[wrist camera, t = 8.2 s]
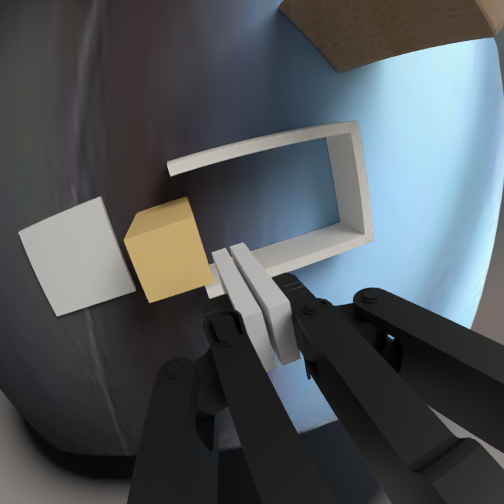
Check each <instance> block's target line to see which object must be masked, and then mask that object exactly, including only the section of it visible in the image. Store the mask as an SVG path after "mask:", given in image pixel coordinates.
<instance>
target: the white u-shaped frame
mask: <svg viewBox="0 0 504 504" xmlns="http://www.w3.org/2000/svg"><path fill="white" fill-rule="evenodd" d="M323 137H326V142H327V147H328V152H329V158H330V163H331V169H332V174H333V180H334V186H335V192H336V199H337V205H338V212H339V219H340V222H339V223H336V224H333V225H330V226H327V227H324V228H321V229H318V230H315V231H312V232H309V233H305V234H302V235H299V236H296V237H293V238H290V239H287V240H284V241H281V242H278V243H275V244H272V245H268V246H265V247H262V248H259V249H256V250H253V251H251V253H252V254H253V255H254V256H255V258H256V259H257V260H258V262H259V263H260V264H261V265H262V267H263V268H264V269H265V271H266V272H267V273H268V274H269V276H270V277H274V276H277V275H280V274H282V273H285V272H290V271H293V270H296V269H298V268H301V267H304V266H307V265H310V264H312V263H315V262H318V261H321V260H324V259H326V258H329V257H332V256H335V255H337V254H340V253H343V252H346V251H348V250H351V249H354V248H356V247H359V246H362V245H364V244H367V243H370V242H372V241H374V238H373V226H372V216H371V207H370V198H369V190H368V182H367V175H366V168H365V161H364V155H363V149H362V143H361V137H360V132H359V126H358V121H345V122H333V123H326V124H320V125H315V126H309V127H304V128H298V129H293V130H288V131H283V132H279V133H274V134H269V135H265V136H260V137H256V138H252V139H248V140H243V141H239V142H235V143H231V144H227V145H224V146H220V147H216V148H212V149H209V150H205V151H201V152H198V153H194V154H191V155H188V156H184V157H181V158H178V159H174V160H171V161H168V162H167V167H168V170H169V174H170V176H173V175H176V174H179V173H183V172H186V171H189V170H193V169H196V168H199V167H203V166H206V165H210V164H213V163H217V162H220V161H224V160H228V159H231V158H235V157H239V156H243V155H247V154H251V153H255V152H259V151H263V150H267V149H271V148H276V147H280V146H285V145H289V144H294V143H298V142H303V141H308V140H313V139H318V138H323ZM231 259H232V260H233V257H231ZM233 262H234V260H233ZM209 267H210V271H211V274H212V277H213V280H214V283H211V284H208V285H205V287H206V290H207V293H208V296H209V299H210V298H213V297H216V296H219V295H222V294H224V291H223V288H222V284H221V281H220V278H219V275H218V272H217V268H216V265H215V263H213V264H210V265H209Z"/></svg>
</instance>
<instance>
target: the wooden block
mask: <svg viewBox="0 0 504 504" xmlns="http://www.w3.org/2000/svg"><path fill="white" fill-rule="evenodd" d="M279 8H280V10H281V11H282V12H283V13H284V14H285V15H286V16H287V17H288V18H289V19H290V20H291V21H292V22H293V23H294V24H295V25H296V26H297V27H298V28H299V29H300V30H301V31H302V32H303V33H304V34H305V35H306V36H307V38H308V39H309V40H310V41H311V42H312V43H313V44H314V45H315V46H316V47H317V49H318V50H319V51H320V52H321V53H322V54H323V55H324V57H325V58H326V59H327V60H328V61H329V63H330V64H331V65H332V66H333V67H334V69H335V70H336V71H337V72H339V73H341V72H345V71H348V70H351V69H354V68H357V67H360V66H363V65H366V64H370V63H373V62H376V61H380V60H383V59H387V58H390V57H394V56H398V55H402V54H406V53H410V52H414V51H418V50H422V49H427V48H431V47H436V46H441V45H446V44H451V43H457V42H463V41H469V40H476V39H483V38H491V37H494V36H495V35H497V33H498V32H499V31H500V29H501V28H502V27H503V25H504V0H283V1H282V3H281V4H280V5H279Z"/></svg>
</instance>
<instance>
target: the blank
mask: <svg viewBox="0 0 504 504" xmlns="http://www.w3.org/2000/svg"><path fill="white" fill-rule="evenodd" d="M124 242H125V245H126V248H127V250H128V253H129V255H130V258H131V261H132V263H133V266H134V268H135V270H136V273H137V275H138V278H139V280H140V283H141V285H142V287H143V290H144V292H145V294H146V297H147V299H148V301H149V303H152V302H155V301H158V300H161V299H164V298H167V297H170V296H174V295H177V294H180V293H183V292H186V291H189V290H192V289H195V288H198V287H201V286H204V285H208V284H211V283H214V280H213V277H212V274H211V271H210V267H209V264H208V261H207V258H206V255H205V252H204V249H203V245H202V242H201V239H200V236H199V233H198V229H197V226H196V223H195V219H194V216H193V213H192V210H191V207H190V204H189V201H188V198H187V196H186V197H183V198H180V199H177V200H174V201H170V202H167V203H164V204H161V205H158V206H155V207H152V208H149V209H146V210H143V211H141V212H138V213H137V214H136V216H135V218H134V220H133V222H132V224H131V226H130V228H129V230H128V232H127V234H126V236H125V238H124Z"/></svg>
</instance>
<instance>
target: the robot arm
mask: <svg viewBox="0 0 504 504" xmlns="http://www.w3.org/2000/svg"><path fill="white" fill-rule="evenodd" d="M230 250H231V253H232V257H233V260H234V262H233V260H232V259H231V257H230V255H229V253H228V252H227V250H226V248H224V249H221V250H218V251H215V252H212V256H213V259H214V262H215V265H216V268H217V272H218V275H219V278H220V281H221V284H222V288H223V291H224V294H223V295H220V296H217V297H214V298H211V299H208V300H206V301H205V303H204V305H203V312H204V316H205V321H204V322H203V329H204V331H205V334H206V336H207V339H208V341H209V344H210V348H209V349H208V351H207V352H206V353H205V354H204V355H203V356H201V357H200V358H199V359H197V360H195V361H192V360H191V359H188V358H185V357H184V358H175V359H172V360H170V361H168V362H166V363H165V364H164V365H163V366H162V367H161V368H160V369H159V371H158V373H157V377H156V381H155V384H154V388H153V392H152V396H151V400H150V403H149V407H148V411H147V415H146V419H145V423H144V428H143V432H142V436H141V440H140V445H139V449H138V453H137V458H136V462H135V467H134V472H133V476H132V481H131V486H130V491H129V496H128V501H127V504H217V470H218V439H219V412H220V411H221V410H223V409H225V408H226V407H228V406H229V410H230V413H231V416H232V419H233V422H234V425H235V428H236V431H237V434H238V437H239V440H240V443H241V446H242V449H243V451H244V454H245V457H246V460H247V463H248V465H249V468H250V471H251V473H252V476H253V479H254V482H255V484H256V487H257V490H258V492H259V495H260V498H261V500H262V503H263V504H336V502H335V500H334V499H333V497H332V495H331V493H330V492H329V490H328V488H327V486H326V484H325V483H324V481H323V479H322V477H321V475H320V474H319V472H318V470H317V468H316V466H315V465H314V463H313V461H312V459H311V457H310V455H309V453H308V452H307V450H306V448H305V446H304V444H303V442H302V440H301V439H300V437H299V435H298V433H297V431H296V429H295V427H294V425H293V423H292V421H291V420H290V418H289V416H288V414H287V412H286V410H285V408H284V406H283V404H282V402H281V400H280V398H279V396H278V394H277V392H276V390H275V388H274V386H273V384H272V382H271V380H270V378H269V376H268V374H267V371H270V370H272V369H275V368H277V367H276V363H275V359H274V356H273V352H272V348H273V350H274V351H275V353H276V355H277V357H278V359H279V361H280V362H281V364H282V366H283V365H286V364H288V363H291V362H293V361H296V360H298V359H301V358H300V353H299V350H300V352H301V353H302V355H303V356H304V361H305V367H306V373H307V377H308V380H309V379H311V377H310V374H311V376H312V378H313V379H314V381H315V382H316V384H317V386H318V387H319V389H320V391H321V392H322V394H323V395H324V397H325V399H326V400H327V402H328V403H329V405H330V407H331V408H332V410H333V411H334V413H335V415H336V416H337V418H338V419H339V421H340V423H341V424H342V426H343V427H344V429H345V431H346V432H347V434H348V435H349V437H350V438H351V440H352V442H353V443H354V445H355V446H356V448H357V450H358V451H359V453H360V454H361V456H362V457H363V459H364V461H365V462H366V464H367V465H368V467H369V468H370V470H371V472H372V473H373V475H374V476H375V478H376V480H377V481H378V483H379V484H380V486H381V487H382V489H383V490H384V492H385V494H386V495H387V497H388V498H389V500H390V501H391V503H392V504H504V469H503V468H502V467H501V466H500V465H499V464H498V463H497V461H496V460H495V459H494V458H493V457H492V456H491V455H490V454H489V453H488V452H487V450H486V449H485V448H484V447H483V446H482V445H481V444H480V443H478V442H477V441H476V440H474V439H472V438H469V437H468V438H457V437H456V436H455V435H453V433H452V432H451V431H450V430H449V429H448V428H447V427H446V426H445V424H444V423H443V422H442V421H441V420H440V419H439V418H438V417H437V416H436V415H435V414H434V412H433V411H432V410H431V409H430V408H429V407H428V406H430V407H431V408H433V409H434V410H436V411H437V412H439V413H441V414H442V415H444V416H445V417H447V418H448V419H450V420H451V421H453V422H454V423H456V424H458V425H459V426H461V427H462V428H464V429H466V430H467V431H469V432H470V433H472V434H473V435H475V436H477V437H478V438H480V439H481V440H483V441H485V442H486V443H488V444H489V445H491V446H493V447H494V448H496V449H497V450H499V451H501V452H503V453H504V345H502V344H499V343H497V342H495V341H493V340H491V339H489V338H487V337H485V336H483V335H481V334H479V333H476V332H474V331H472V330H470V329H468V328H466V327H464V326H462V325H459V324H457V323H455V322H453V321H451V320H449V319H447V318H444V317H442V316H440V315H438V314H436V313H434V312H431V311H429V310H427V309H425V308H423V307H420V306H418V305H416V304H414V303H412V302H410V301H407V300H405V299H403V298H401V297H399V296H396V295H394V294H392V293H390V292H387V291H385V290H383V289H380V288H365V289H362V290H360V291H358V292H357V293H356V294H355V295H354V297H353V303H350V304H345V305H338V306H333V305H332V304H331V303H330V302H329V301H327V300H326V299H321V298H316V297H315V296H314V295H313V294H312V293H311V292H310V291H309V290H308V289H307V288H306V287H305V286H304V285H303V284H302V282H301V281H300V280H299V279H298V278H297V277H296V276H295V275H292V274H290V273H287V272H285V273H282V274H280V275H277V276H274V277H270V276H269V274H268V273H267V272H266V271H265V269H264V268H263V267H262V265H261V264H260V263H259V262H258V260H257V259H256V258H255V256H254V255H253V254H252V253H251V251H250V250H249V249H248V247H247V246H246V245H245V244H244V242H243V243H240V244H237V245H233V246H230ZM388 334H389V335H391V336H392V337H394V339H391V338H389V337H388ZM271 346H272V348H271ZM426 404H427V405H428V406H427V405H426Z"/></svg>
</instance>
